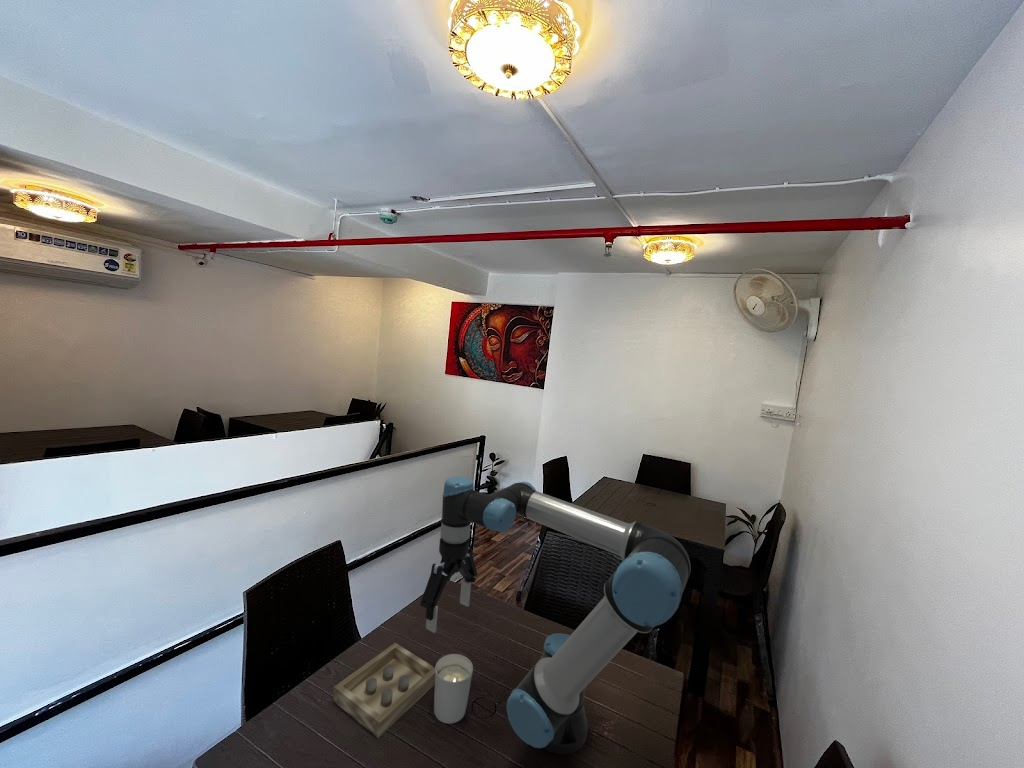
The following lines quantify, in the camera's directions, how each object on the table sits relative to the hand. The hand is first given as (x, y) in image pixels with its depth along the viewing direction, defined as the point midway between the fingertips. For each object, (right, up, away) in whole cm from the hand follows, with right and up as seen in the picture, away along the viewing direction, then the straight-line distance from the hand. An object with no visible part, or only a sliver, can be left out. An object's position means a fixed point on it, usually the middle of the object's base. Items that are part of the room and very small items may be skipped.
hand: (448, 616), depth 110 cm
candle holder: (0, -25, 0) cm, 25 cm away
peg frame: (-17, -22, +4) cm, 29 cm away
